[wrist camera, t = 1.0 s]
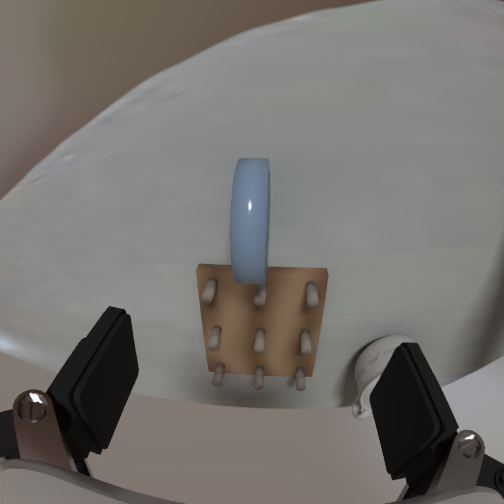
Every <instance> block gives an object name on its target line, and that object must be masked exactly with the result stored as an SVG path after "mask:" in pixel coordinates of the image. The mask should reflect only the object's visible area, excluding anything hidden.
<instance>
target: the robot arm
mask: <svg viewBox="0 0 504 504" xmlns="http://www.w3.org/2000/svg"><path fill="white" fill-rule="evenodd" d="M138 372H139V367H138V361H137V355H136V350H135V343H134V337H133V330H132V323H131V317H130V315H128V314H127V313H126V311H125V310H124V309H121V308H116V307H111V306H109V307H108V308H107V309H106V310H105V312H104V313H103V314H102V316H101V317H100V319H99V320H98V321H97V323H96V324H95V325H94V327H93V328H92V330H91V331H90V332H89V334H88V335H87V337H86V338H83V339H82V340H81V341H80V342H79V344H78V345H77V346H76V348H75V349H74V351H73V352H72V354H71V355H70V357H69V358H68V359H67V361H66V362H65V364H64V365H63V367H62V368H61V370H60V371H59V373H58V374H57V376H56V377H55V379H54V381H53V382H52V384H51V385H50V387H49V388H48V390H47V392H46V393H45V392H43V391H41V390H36V389H33V390H32V389H31V390H27V391H24V392H22V393H21V394H20V395H18V397H17V398H16V399H15V401H14V404H13V409H11V410H7V411H3V412H0V504H184V503H179V502H175V501H170V500H166V499H161V498H157V497H153V496H149V495H146V494H142V493H138V492H135V491H131V490H128V489H125V488H121V487H118V486H114V485H112V484H109V483H106V482H103V481H100V480H98V479H95V478H94V476H93V474H92V472H91V470H90V467H89V464H88V462H87V460H86V458H87V457H88V455H89V452H90V451H91V452H94V453H96V454H99V455H100V454H101V452H102V449H107V448H108V446H109V444H110V441H111V438H112V436H113V433H114V431H115V429H116V426H117V424H118V421H119V419H120V416H121V414H122V412H123V409H124V407H125V404H126V402H127V400H128V397H129V395H130V393H131V390H132V388H133V386H134V384H135V381H136V379H137V377H138ZM369 401H370V405H371V409H372V413H373V417H374V420H375V424H376V428H377V432H378V436H379V440H380V444H381V448H382V452H383V456H384V461H385V465H386V470H387V472H388V473H389V474H391V478H392V480H397V479H402V478H406V482H407V483H406V485H405V486H404V488H403V490H402V492H401V494H400V495H399V497H398V499H397V501H396V502H391V503H386V504H504V464H503V463H500V462H499V461H497V460H495V459H493V458H491V457H489V456H488V455H486V454H484V452H485V446H484V442H483V440H482V438H481V437H480V436H479V435H478V434H477V433H475V432H474V431H471V430H463V431H460V432H459V433H457V431H456V430H457V429H458V428H459V426H458V424H457V422H456V420H455V417H454V415H453V413H452V411H451V409H450V406H449V404H448V402H447V400H446V398H445V396H444V394H443V391H442V389H441V387H440V385H439V383H438V381H437V379H436V377H435V375H434V373H433V371H432V369H431V367H430V365H429V363H428V361H427V359H426V358H425V356H424V354H423V352H422V350H421V348H420V346H419V345H418V343H416V342H403V343H401V344H400V346H397V347H396V349H395V350H394V352H393V354H392V356H391V358H390V360H389V362H388V364H387V365H386V367H385V369H384V371H383V373H382V374H381V376H380V378H379V380H378V381H377V383H376V385H375V386H374V388H373V390H372V392H371V393H370V397H369Z"/></svg>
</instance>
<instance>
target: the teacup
mask: <svg viewBox="0 0 504 504" xmlns="http://www.w3.org/2000/svg"><path fill="white" fill-rule="evenodd" d="M403 342H416V341H415V340H414V339H412V338H411V337H409V336H405V335H390V336H385V337H382V338H380V339H378V340H376V341H374V342H373V343H371V344H370V345H369V346H368V347H367V348H366V349H365V350H364V351H363V352H362V353H361V354H360V356H359V357H358V359H357V362H356V365H355V380H356V385H357V389H358V394H357V396H356V398H355V400H354V402H353V406H352V413H353V416H354V417H355V418H357V419H360V420H364V419H366V418H368V417H369V416H370V415H371V413H372V409H371V405H370V401H369V397H370V393H371V392H372V390H373V388H374V386H375V385H376V383H377V381H378V380H379V378H380V376H381V374H382V373H383V371H384V369H385V367H386V365H387V364H388V362H389V360H390V358H391V356H392V354H393V352H394V350H395V349H396V347H397V346H400V344H401V343H403ZM416 343H417V342H416ZM418 345H419V344H418ZM420 348H421V347H420ZM421 350H422V349H421ZM422 352H423V350H422ZM423 354H424V352H423ZM424 356H425V354H424ZM425 358H426V359H427V357H426V356H425ZM427 361H428V359H427ZM428 363H429V361H428ZM429 365H430V367H431V369H432V371H433V373H434V375H435V372H434V369H433V367H432V365H431V364H430V363H429ZM361 406H362V407H363V408H364V411H363V412H362V413H361Z"/></svg>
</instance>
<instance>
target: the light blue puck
mask: <svg viewBox="0 0 504 504" xmlns="http://www.w3.org/2000/svg"><path fill="white" fill-rule="evenodd" d="M269 214H270V171H269V159H260V158H240V159H239V160H238V162H237V165H236V169H235V173H234V180H233V188H232V200H231V222H230V240H231V260H232V270H233V275H234V279H235V282H236V283H237V284H253V285H265V284H266V277H267V263H268V242H269Z"/></svg>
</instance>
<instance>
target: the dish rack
mask: <svg viewBox="0 0 504 504" xmlns="http://www.w3.org/2000/svg"><path fill="white" fill-rule="evenodd" d="M196 273H197V282H198V292H199V301H200V309H201V317H202V325H203V333H204V341H205V348H206V355H207V362H208V369H209V371H212V372H215V374H214V378H213V382H212V384H213V385H214V386H220V385H221V382H222V378H223V373H234V374H248V375H255V380H254V388H255V389H258V390H259V389H262V388H263V379H264V375H266V376H296V390H298V391H302V390H304V389H305V378H304V377H312V373H313V368H314V362H315V357H316V351H317V346H318V340H319V334H320V328H321V322H322V316H323V309H324V303H325V296H326V289H327V281H328V271H327V268H296V267H267V277H266V284H265V285H253V284H237V283H236V282H235V279H234V275H233V270H232V265H214V264H199V265H198V267H197V269H196Z"/></svg>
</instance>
